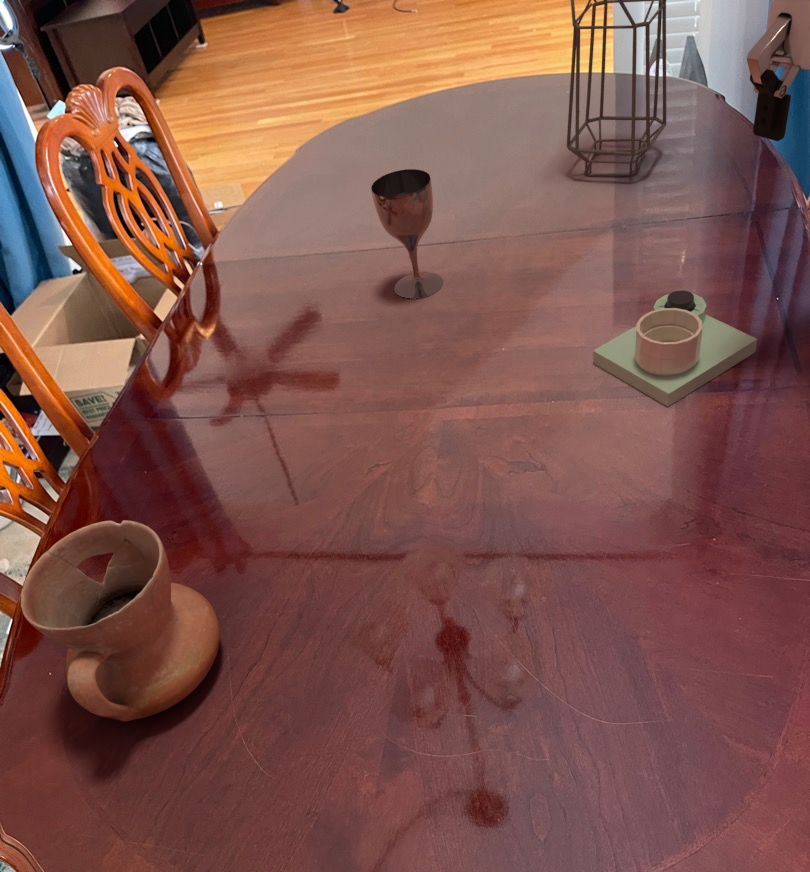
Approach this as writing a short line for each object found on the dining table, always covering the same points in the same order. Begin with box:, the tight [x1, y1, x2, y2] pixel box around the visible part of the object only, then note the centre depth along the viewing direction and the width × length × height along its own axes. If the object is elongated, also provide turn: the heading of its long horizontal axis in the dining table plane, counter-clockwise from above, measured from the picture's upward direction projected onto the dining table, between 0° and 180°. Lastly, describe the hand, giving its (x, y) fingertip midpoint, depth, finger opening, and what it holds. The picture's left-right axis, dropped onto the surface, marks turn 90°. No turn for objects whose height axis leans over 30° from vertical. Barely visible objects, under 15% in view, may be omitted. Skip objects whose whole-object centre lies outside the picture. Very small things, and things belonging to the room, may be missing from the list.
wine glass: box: [370, 168, 444, 300], centre depth 112 cm, size 8×8×15 cm
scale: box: [592, 292, 758, 408], centre depth 96 cm, size 14×12×4 cm
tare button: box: [667, 289, 694, 312], centre depth 97 cm, size 3×3×2 cm
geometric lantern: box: [566, 0, 667, 177], centre depth 120 cm, size 16×16×35 cm
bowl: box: [635, 308, 703, 376], centre depth 92 cm, size 7×7×4 cm
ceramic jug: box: [20, 519, 221, 722], centre depth 73 cm, size 18×14×14 cm
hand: (802, 118), depth 80 cm, fingers open, 9 cm apart
